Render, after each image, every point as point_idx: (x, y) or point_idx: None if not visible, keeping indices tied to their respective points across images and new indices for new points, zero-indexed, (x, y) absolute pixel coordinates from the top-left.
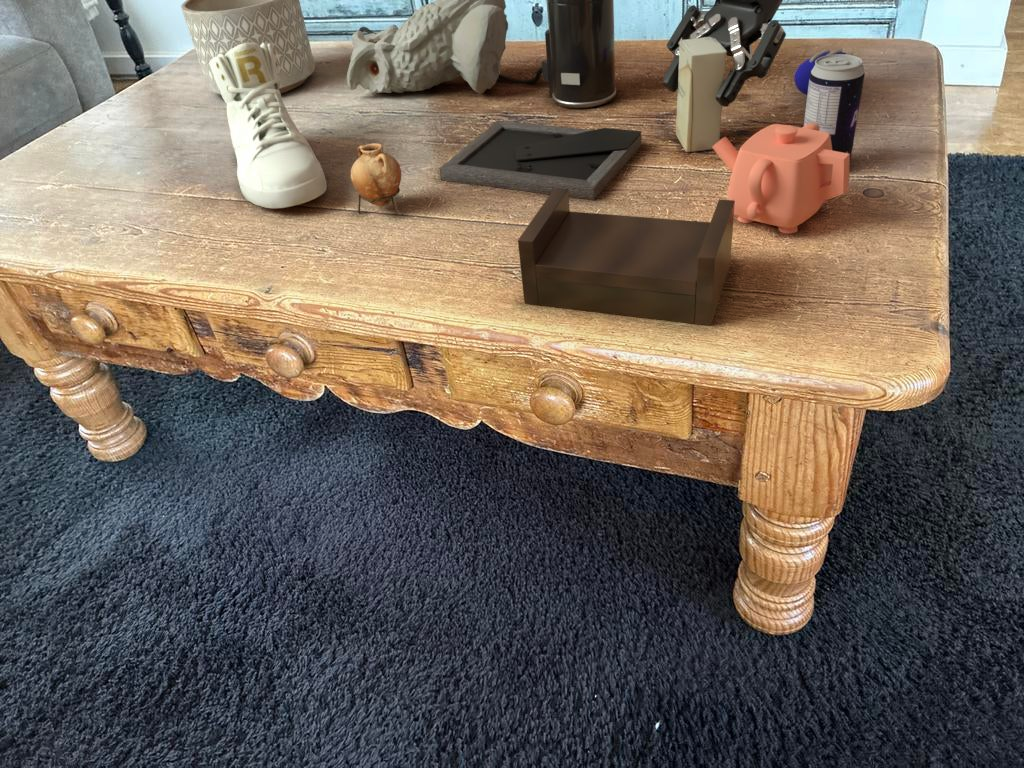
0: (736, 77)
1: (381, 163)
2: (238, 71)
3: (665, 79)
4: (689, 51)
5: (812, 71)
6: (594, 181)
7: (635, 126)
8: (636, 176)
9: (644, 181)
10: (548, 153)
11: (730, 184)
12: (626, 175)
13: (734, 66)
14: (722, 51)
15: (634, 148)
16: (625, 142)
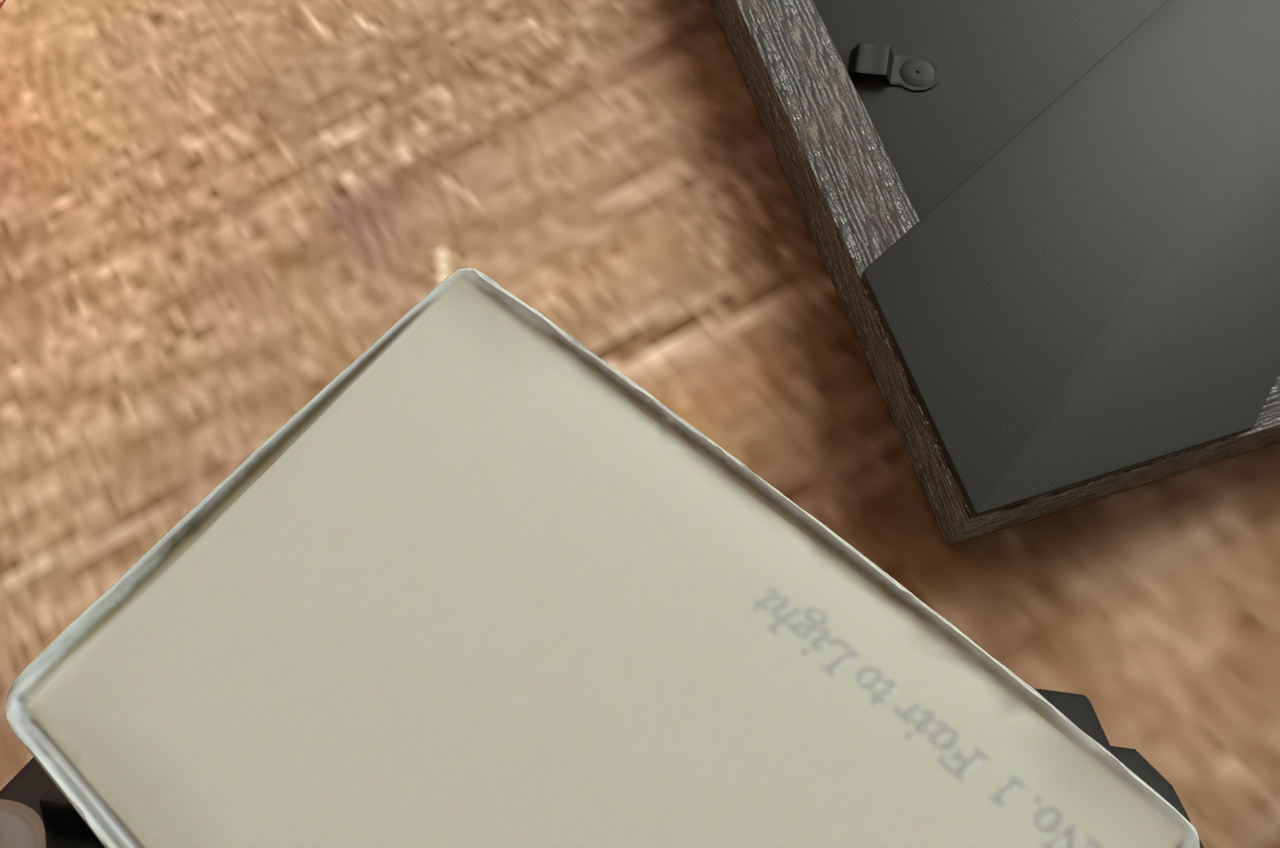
0: (47, 783)
1: None
2: None
3: (1079, 708)
4: (620, 413)
5: None
6: None
7: (1273, 836)
8: (674, 208)
9: (597, 186)
10: (1212, 11)
11: None
12: (729, 190)
13: (32, 831)
14: (67, 660)
15: (901, 408)
16: (931, 319)
